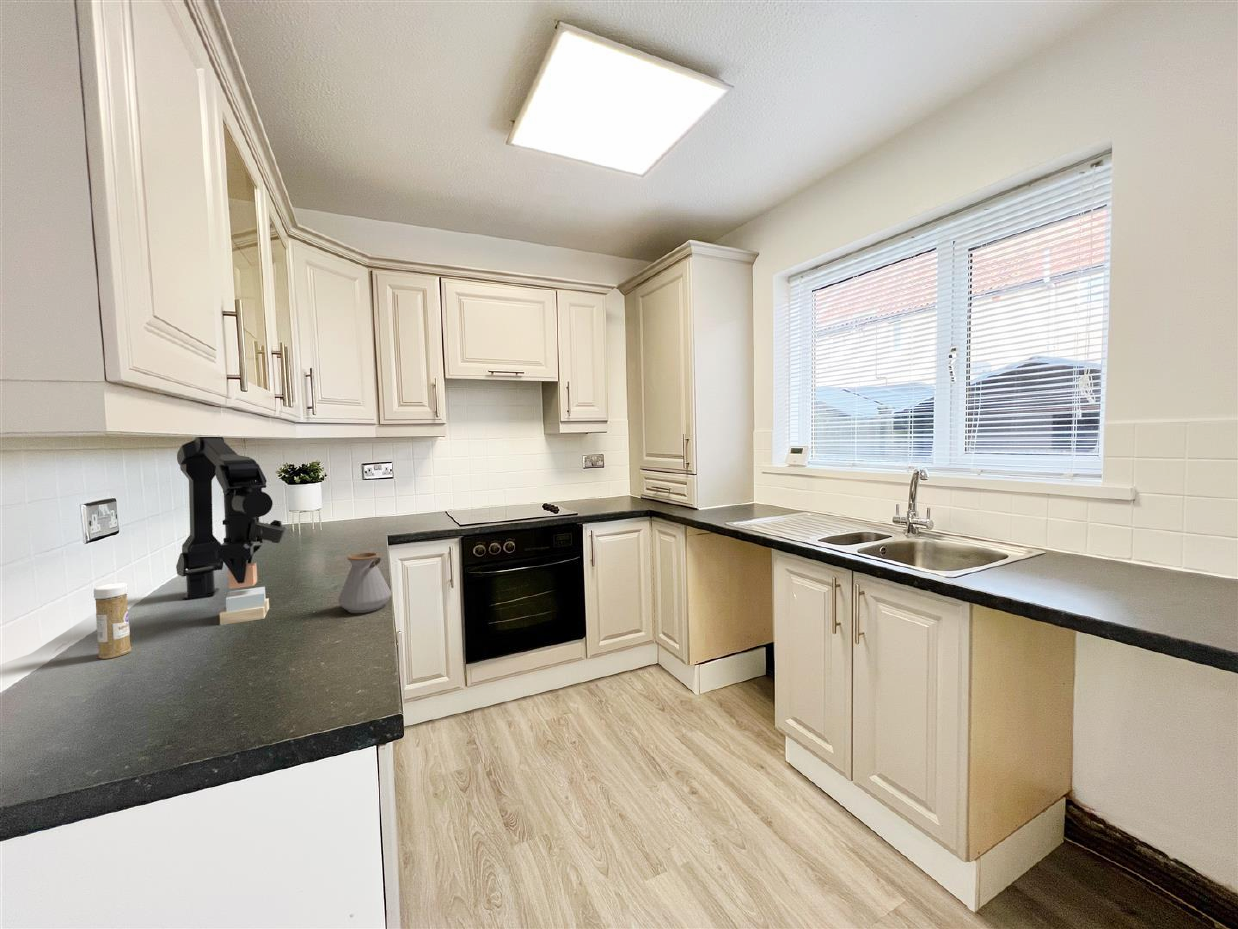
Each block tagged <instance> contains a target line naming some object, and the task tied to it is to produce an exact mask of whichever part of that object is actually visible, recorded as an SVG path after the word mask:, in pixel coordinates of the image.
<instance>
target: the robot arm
mask: <svg viewBox="0 0 1238 929" xmlns="http://www.w3.org/2000/svg"><path fill="white" fill-rule="evenodd" d="M176 458H177V459H176V460H177V463H178V465H179V468H180V471H181V472H182V473H183V475H184V476H185V477H186V478H187V479H188V498H189V501H188V502H189V504H188V505H189V535H188V536H187V537H186V539H185V541H184V542H183V544H182V546H181V553H180V554H179V556H178V559H177V563H176V565H175V566H176V567H175V569H176V574H177V575H178V576H180V577H183V578H184V577H185V580H186V582H185V583H186V594H185V595H184V596H182V597H181V598H182V600H189V599H199V598H207V597H214V596H215V595H216V594H217V593H218V591H220V587H216V585H215V583H216V582H215V571H222V570H223V569H224V568H223V567H224V564H225V566H226V567H227V569H229V570H230V572H231V573H232V575H233V576H234V578H235V579H236V581H237V582H238V583H244V581H245V575H246V569H247V563H253V560H254V557H255V556H254V555H255V554H256V552H257V551H258V550H259V549H260V548H261V547H262V544H263V543H265V541H268V542H271V543H273V544H280V543H281V542H282V541H283V538H284V535H285V532H286V530H287V528H286V527H285V526H283V524H282V521H281V520H279V519H278V520H276V519H274V520H273V521H271V522H270V523H268V522H266V523H265V522H260V518H261V517H264V516H265V515H267V514H268V513H270V511H271V510H272V508H273V499H272V497H271V496H270V495H269V494H268V493H267V492H264V491H263V490H262V489H265V488H267V478H266V476H265V475H264V472H263V471H262V468H261V467H260V465H259V463H257V461H256V460H255V459H254V458H252V457H250V456H246V455H241V454H240V455H239V454H238V453H237V452H236V451H235V450H233V448H231V446H230V445H228V443H227V442H225V439H224V437H223V436H222V437H197V436H196V437H195V438H194V439H193V440H191V441H188V442H187V443H183V444H182V445H181V446H180V447H179V449H178V451H177V453H176ZM215 477H216V480H217V482H218V484H219V485H220V487H221V489H222V494H223V508H224V510H223V511H224V519H223V520H222V525H223V526H224V527H225V529H224V532H225V537H223V542H222V543H221V542H220V541H219V540H218V539H217V538H216V536H214V532H213V530H214V528H213V527H214V526H213V523H214V522H213V483H212V482H213V479H214V478H215ZM258 542H259V543H260V544H258V545H255V543H258Z"/></svg>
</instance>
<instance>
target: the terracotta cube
mask: <svg viewBox="0 0 1238 929" xmlns="http://www.w3.org/2000/svg"><path fill="white" fill-rule="evenodd" d="M257 568H258V567H257V562H252V563H247V569H246V575H245V581H244V583H238V582H237V581H236V579H235V578H234V576H233V575H232V573H231V572H230V570H229V569H228V568H227V569H228V587H229V589H230V590H231V589H238V588H239V589H240V588H248V587H254V586H255V585H256V584H257V583H258V569H257Z"/></svg>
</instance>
